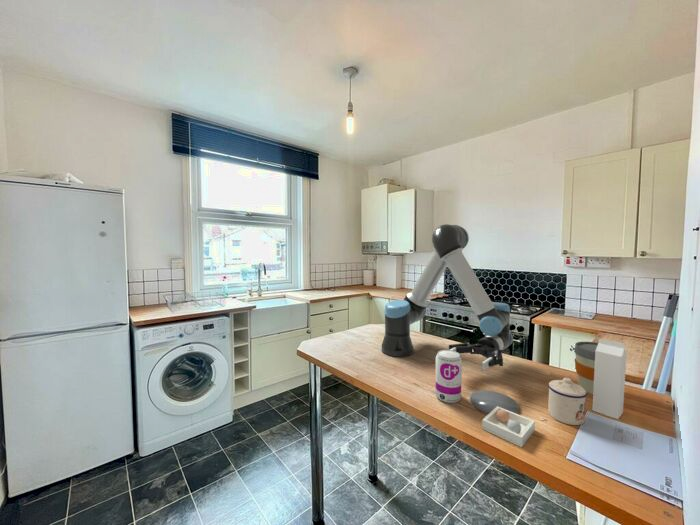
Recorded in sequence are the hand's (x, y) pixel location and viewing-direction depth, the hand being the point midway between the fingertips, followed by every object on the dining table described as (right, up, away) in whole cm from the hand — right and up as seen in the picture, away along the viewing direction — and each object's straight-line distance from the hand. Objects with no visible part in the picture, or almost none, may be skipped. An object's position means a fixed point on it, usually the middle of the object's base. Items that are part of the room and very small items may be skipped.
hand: (463, 360), depth 104 cm
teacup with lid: (+25, -11, -16) cm, 31 cm away
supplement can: (-7, -11, -5) cm, 14 cm away
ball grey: (+4, -9, -25) cm, 27 cm away
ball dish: (+4, -11, -22) cm, 25 cm away
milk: (+38, -11, -15) cm, 42 cm away
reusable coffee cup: (+45, -10, -2) cm, 46 cm away
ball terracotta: (+3, -9, -20) cm, 22 cm away
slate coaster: (+6, -10, -10) cm, 15 cm away
